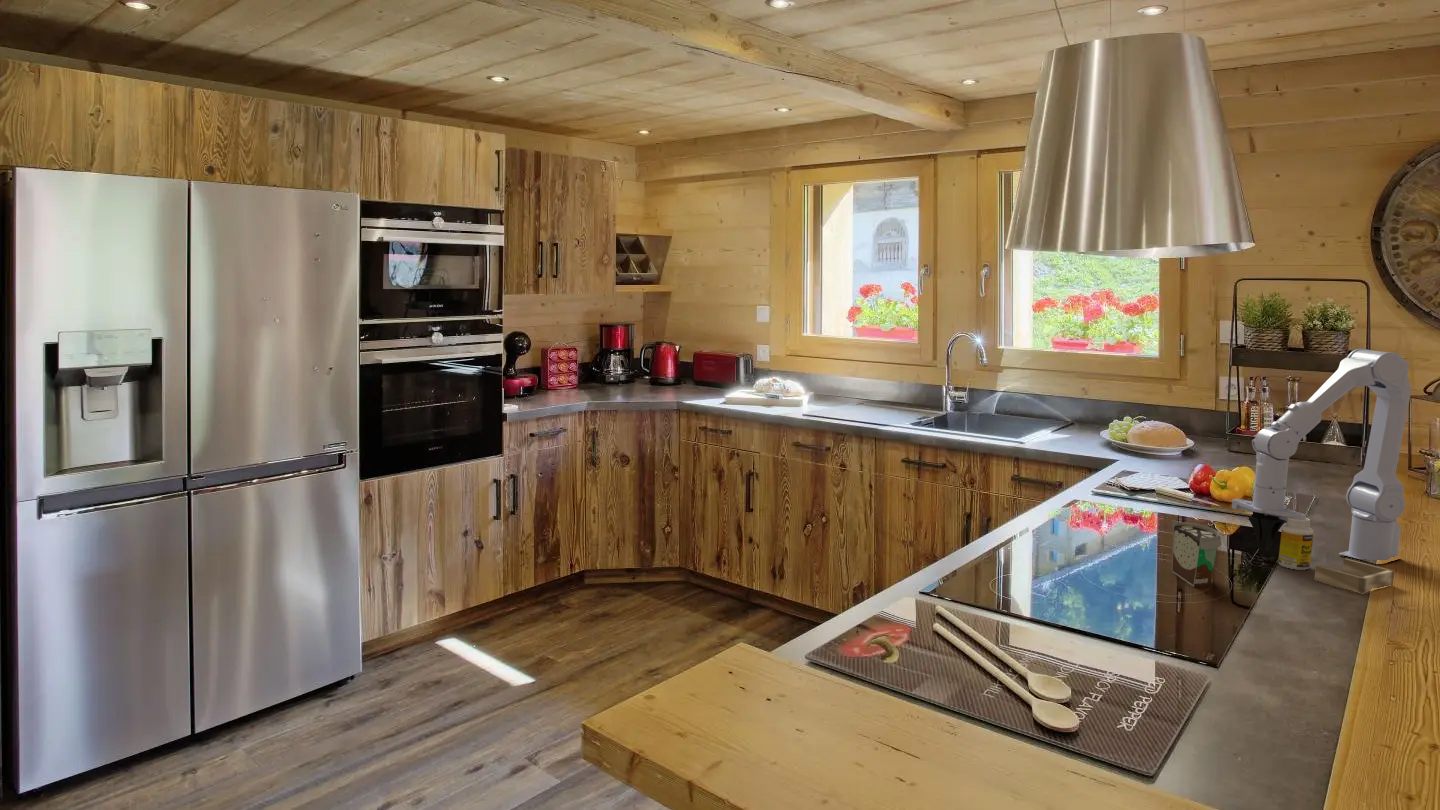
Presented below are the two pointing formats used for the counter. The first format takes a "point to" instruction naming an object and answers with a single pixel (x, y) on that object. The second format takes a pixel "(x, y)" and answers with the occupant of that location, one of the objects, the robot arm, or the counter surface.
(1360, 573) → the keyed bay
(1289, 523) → the supplement bottle
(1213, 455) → the counter surface
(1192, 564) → the food container
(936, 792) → the counter surface
